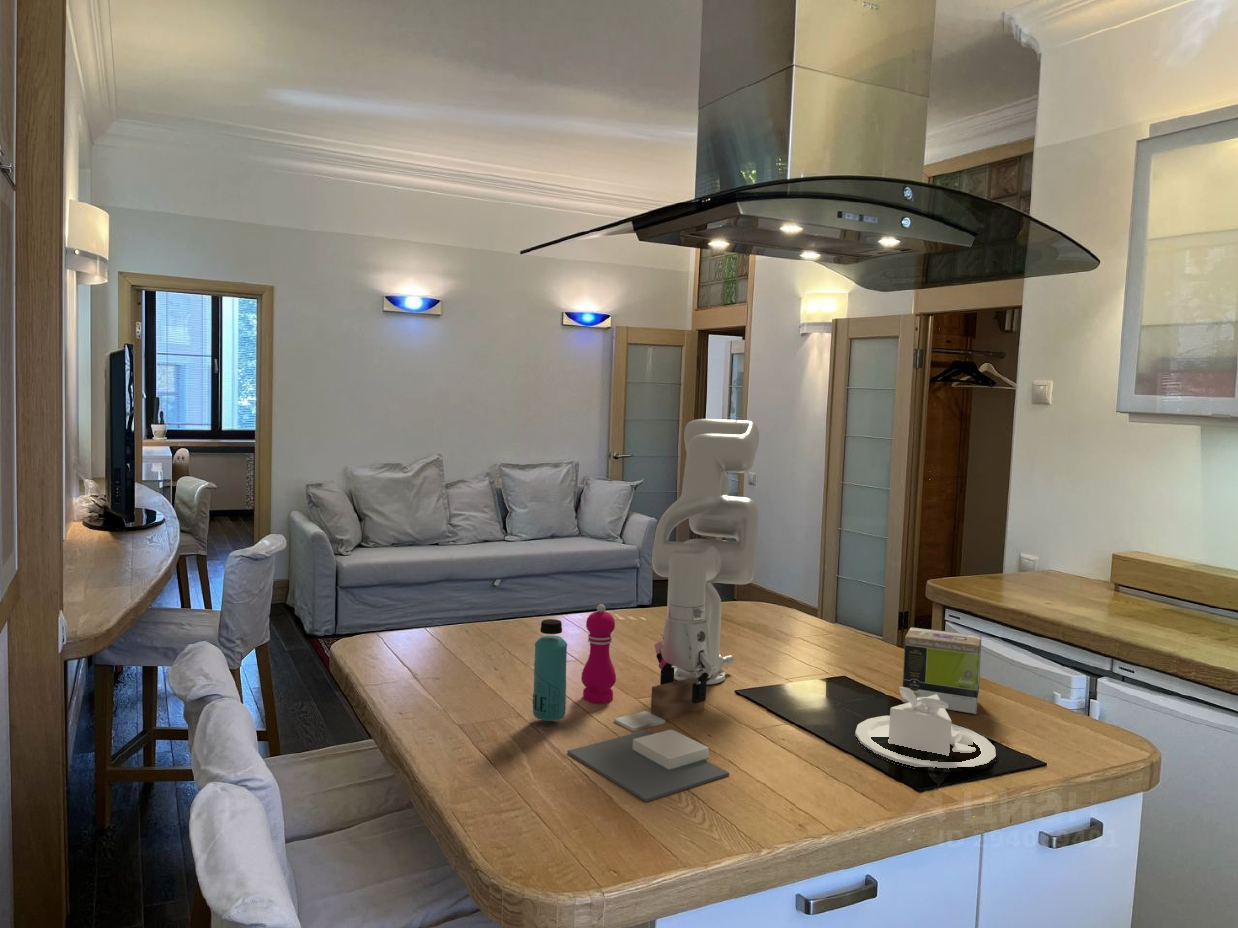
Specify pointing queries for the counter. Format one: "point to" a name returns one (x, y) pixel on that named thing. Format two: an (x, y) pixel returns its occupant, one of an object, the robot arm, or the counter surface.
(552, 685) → the beverage bottle
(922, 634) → the tea box
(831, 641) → the counter surface
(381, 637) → the counter surface
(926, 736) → the dish
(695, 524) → the robot arm
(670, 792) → the tile mat
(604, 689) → the pepper mill
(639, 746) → the tile
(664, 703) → the wooden handled spatula
